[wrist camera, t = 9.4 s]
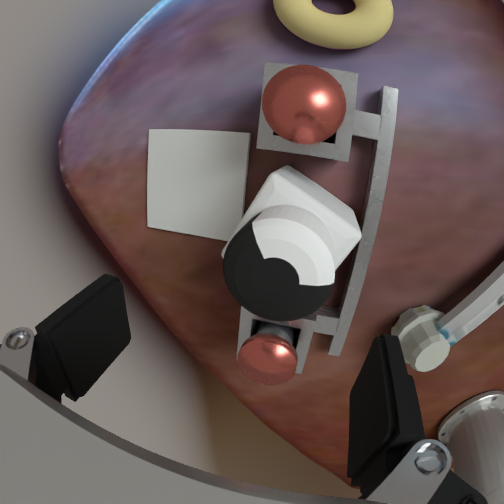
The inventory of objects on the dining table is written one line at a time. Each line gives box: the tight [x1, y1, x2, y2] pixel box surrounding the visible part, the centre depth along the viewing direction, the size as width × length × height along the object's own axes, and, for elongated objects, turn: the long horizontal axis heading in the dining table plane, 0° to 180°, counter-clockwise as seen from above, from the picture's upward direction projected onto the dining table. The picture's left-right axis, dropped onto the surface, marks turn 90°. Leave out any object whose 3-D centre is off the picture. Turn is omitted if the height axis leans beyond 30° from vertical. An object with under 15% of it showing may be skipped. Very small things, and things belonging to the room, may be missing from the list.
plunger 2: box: [262, 65, 346, 144], centre depth 18 cm, size 5×5×8 cm
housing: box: [236, 63, 398, 374], centre depth 22 cm, size 25×10×6 cm, turn 175°
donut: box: [273, 0, 393, 49], centre depth 16 cm, size 10×5×9 cm
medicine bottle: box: [221, 165, 362, 322], centre depth 20 cm, size 7×7×12 cm
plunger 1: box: [237, 321, 298, 385], centre depth 25 cm, size 5×5×8 cm
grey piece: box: [391, 261, 504, 372], centre depth 20 cm, size 5×7×25 cm
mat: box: [147, 129, 251, 241], centre depth 26 cm, size 10×10×1 cm
